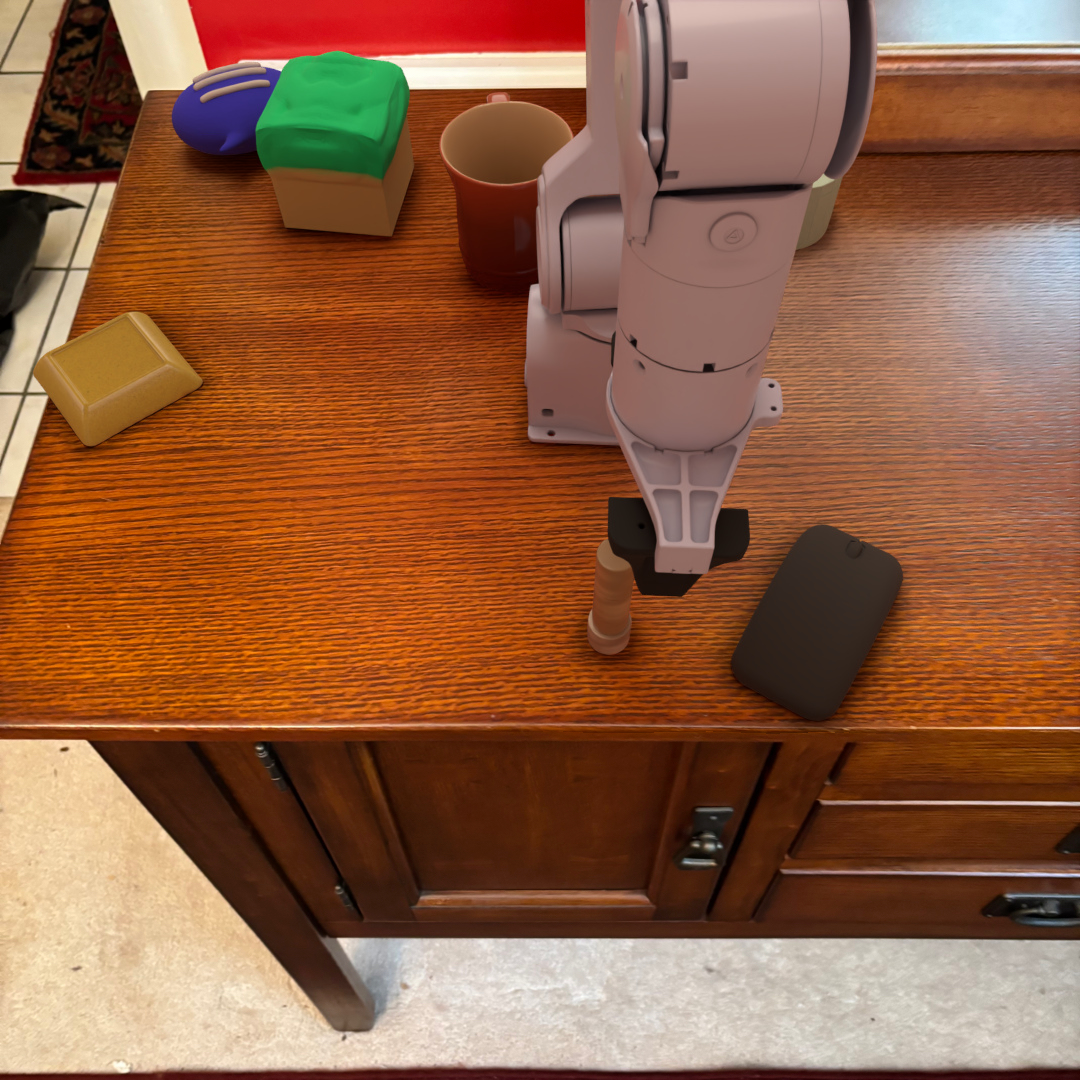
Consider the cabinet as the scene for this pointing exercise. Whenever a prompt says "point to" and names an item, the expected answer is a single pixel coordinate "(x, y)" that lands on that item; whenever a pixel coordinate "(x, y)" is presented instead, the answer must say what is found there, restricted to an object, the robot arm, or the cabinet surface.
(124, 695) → the cabinet surface
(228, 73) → the decorative object
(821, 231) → the jar
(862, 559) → the computer mouse
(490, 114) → the mug
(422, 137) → the cabinet surface
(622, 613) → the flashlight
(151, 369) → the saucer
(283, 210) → the cake
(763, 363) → the robot arm
